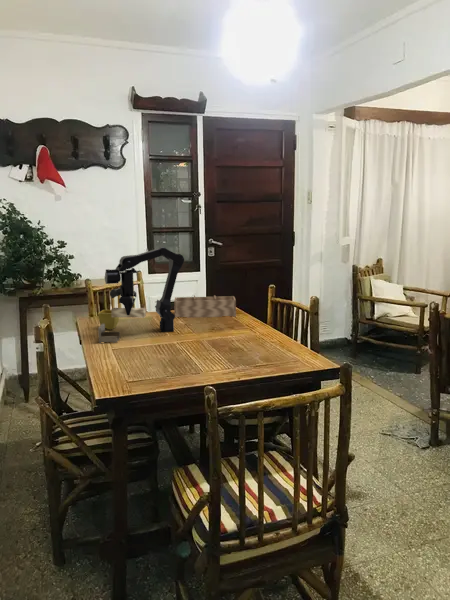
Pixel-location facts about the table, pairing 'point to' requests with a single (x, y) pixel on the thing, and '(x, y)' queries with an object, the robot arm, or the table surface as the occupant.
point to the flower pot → (108, 319)
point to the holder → (205, 306)
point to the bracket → (107, 335)
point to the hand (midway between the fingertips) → (128, 314)
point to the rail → (134, 312)
